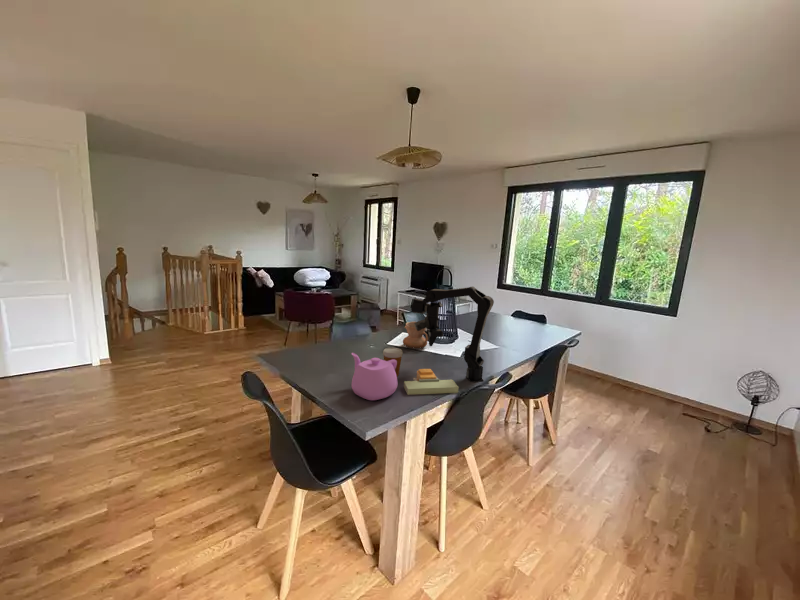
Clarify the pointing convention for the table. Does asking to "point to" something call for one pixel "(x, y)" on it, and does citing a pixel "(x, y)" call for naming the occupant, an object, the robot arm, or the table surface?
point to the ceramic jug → (414, 337)
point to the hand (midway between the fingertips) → (430, 346)
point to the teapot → (374, 378)
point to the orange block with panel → (425, 374)
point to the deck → (430, 386)
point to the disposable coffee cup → (393, 357)
